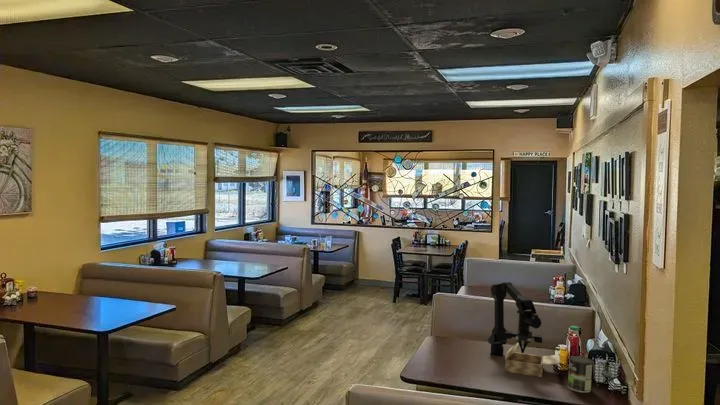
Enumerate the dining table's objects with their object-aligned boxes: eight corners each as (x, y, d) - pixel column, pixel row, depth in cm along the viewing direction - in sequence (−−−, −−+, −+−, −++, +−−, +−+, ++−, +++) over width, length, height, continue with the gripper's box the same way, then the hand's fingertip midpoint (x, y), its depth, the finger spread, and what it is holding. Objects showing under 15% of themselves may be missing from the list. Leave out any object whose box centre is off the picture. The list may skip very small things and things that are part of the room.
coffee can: (574, 392, 247) (575, 362, 247) (563, 384, 257) (565, 355, 257) (595, 392, 248) (597, 363, 248) (584, 384, 258) (585, 355, 258)
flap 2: (559, 363, 264) (559, 363, 264) (559, 354, 278) (559, 355, 278) (542, 364, 266) (542, 365, 266) (543, 356, 280) (543, 356, 280)
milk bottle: (579, 361, 293) (581, 325, 293) (580, 366, 286) (582, 329, 285) (564, 359, 296) (566, 324, 295) (565, 363, 288) (567, 327, 288)
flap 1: (519, 342, 284) (519, 341, 285) (517, 349, 270) (517, 349, 270) (508, 351, 287) (507, 350, 287) (505, 359, 273) (505, 358, 273)
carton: (504, 371, 272) (505, 359, 272) (507, 362, 287) (508, 351, 287) (541, 377, 266) (542, 365, 266) (542, 367, 281) (543, 356, 281)
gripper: (504, 324, 272) (502, 354, 272) (542, 329, 266) (541, 360, 266) (506, 319, 282) (504, 348, 283) (543, 324, 276) (541, 354, 277)
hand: (522, 353), depth 277 cm, fingers closed
